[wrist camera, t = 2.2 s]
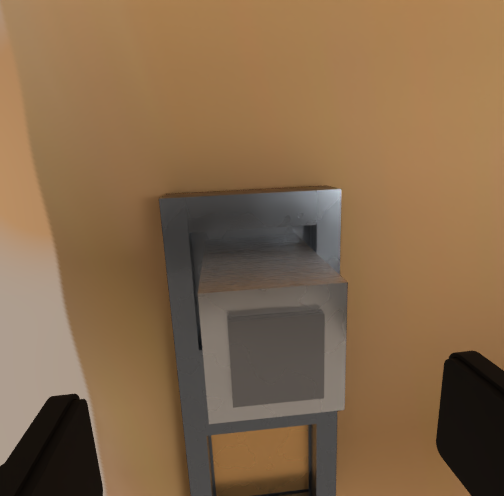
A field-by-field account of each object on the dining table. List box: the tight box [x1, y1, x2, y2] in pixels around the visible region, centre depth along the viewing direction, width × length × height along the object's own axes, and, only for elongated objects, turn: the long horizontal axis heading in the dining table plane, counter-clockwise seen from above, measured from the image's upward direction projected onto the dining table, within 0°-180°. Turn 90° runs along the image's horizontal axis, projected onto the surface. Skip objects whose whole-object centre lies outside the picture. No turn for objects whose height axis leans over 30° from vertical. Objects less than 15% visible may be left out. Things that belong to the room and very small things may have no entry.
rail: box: [159, 186, 341, 496], centre depth 21 cm, size 9×22×2 cm, turn 2°
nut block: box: [198, 234, 348, 424], centre depth 16 cm, size 5×5×8 cm
